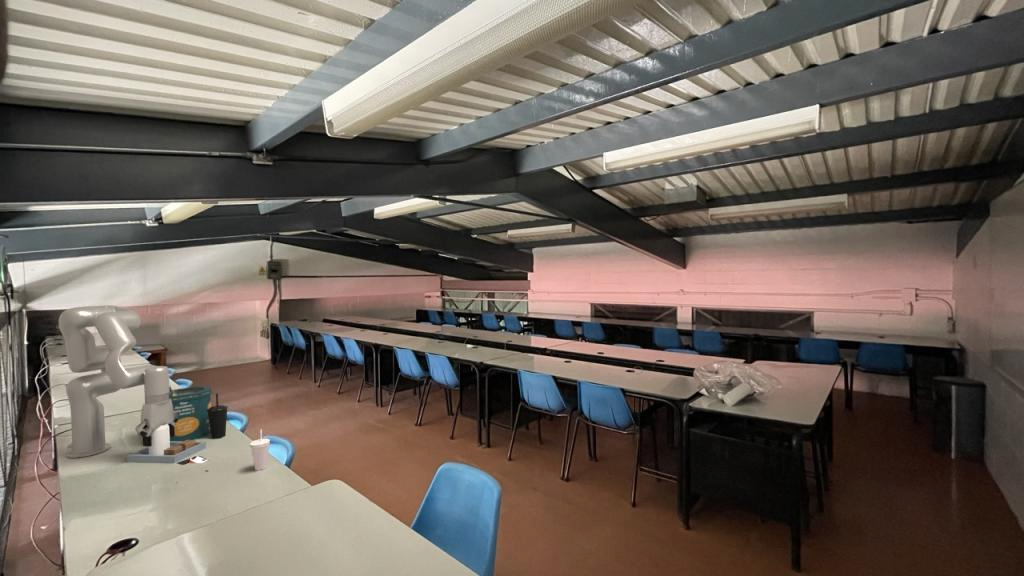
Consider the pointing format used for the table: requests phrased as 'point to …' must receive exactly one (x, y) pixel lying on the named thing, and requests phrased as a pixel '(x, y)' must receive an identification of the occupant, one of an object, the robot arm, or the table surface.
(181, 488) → the table surface
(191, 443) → the walnut block
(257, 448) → the smoothie
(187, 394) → the donation box
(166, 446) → the can
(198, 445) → the tray
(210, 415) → the drinking cup
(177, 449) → the walnut block
